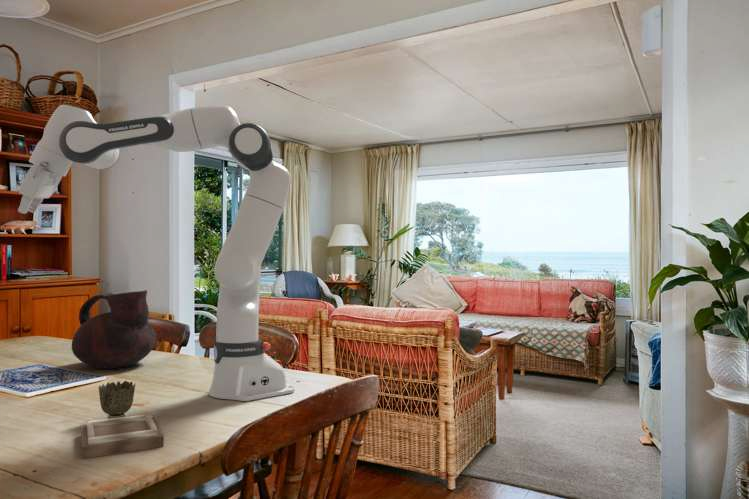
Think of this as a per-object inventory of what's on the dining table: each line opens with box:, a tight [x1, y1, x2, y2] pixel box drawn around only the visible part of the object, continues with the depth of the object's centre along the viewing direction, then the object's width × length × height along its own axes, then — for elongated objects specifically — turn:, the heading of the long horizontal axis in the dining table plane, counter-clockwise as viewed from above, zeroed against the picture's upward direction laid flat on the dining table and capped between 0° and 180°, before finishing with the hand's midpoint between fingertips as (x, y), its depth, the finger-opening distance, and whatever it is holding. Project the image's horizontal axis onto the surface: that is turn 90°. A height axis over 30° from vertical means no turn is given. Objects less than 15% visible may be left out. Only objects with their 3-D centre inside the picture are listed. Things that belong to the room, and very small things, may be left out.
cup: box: [98, 380, 136, 419], centre depth 122 cm, size 8×7×8 cm
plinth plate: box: [80, 413, 165, 459], centre depth 109 cm, size 14×14×3 cm
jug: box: [71, 289, 157, 370], centre depth 180 cm, size 25×25×25 cm
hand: (26, 212), depth 139 cm, fingers open, 8 cm apart
